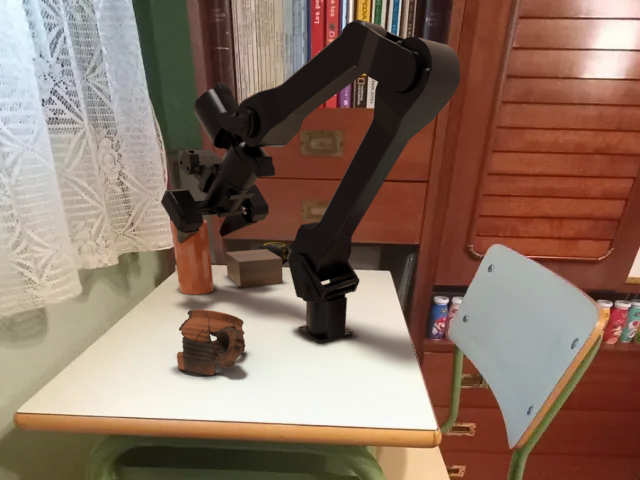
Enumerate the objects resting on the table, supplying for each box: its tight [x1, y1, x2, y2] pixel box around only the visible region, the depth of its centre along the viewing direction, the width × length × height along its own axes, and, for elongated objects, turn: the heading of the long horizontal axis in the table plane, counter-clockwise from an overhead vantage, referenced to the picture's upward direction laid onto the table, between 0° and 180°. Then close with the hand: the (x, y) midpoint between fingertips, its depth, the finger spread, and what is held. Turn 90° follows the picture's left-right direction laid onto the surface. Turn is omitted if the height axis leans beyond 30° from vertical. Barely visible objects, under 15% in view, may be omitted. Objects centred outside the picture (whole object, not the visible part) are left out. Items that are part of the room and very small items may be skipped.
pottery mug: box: [176, 309, 246, 376], centre depth 64 cm, size 12×10×8 cm
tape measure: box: [256, 241, 290, 262], centre depth 114 cm, size 7×7×4 cm
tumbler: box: [170, 218, 214, 295], centre depth 91 cm, size 6×6×12 cm
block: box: [225, 249, 283, 289], centre depth 99 cm, size 9×9×5 cm
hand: (200, 237), depth 87 cm, fingers open, 9 cm apart
